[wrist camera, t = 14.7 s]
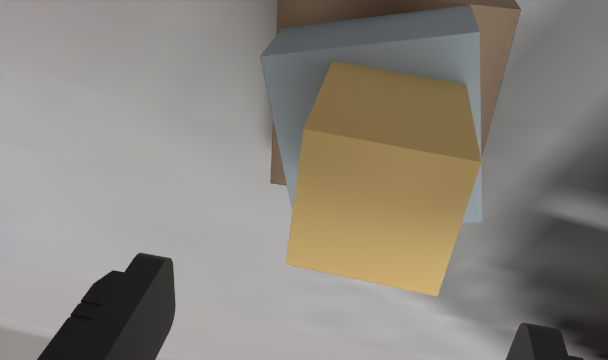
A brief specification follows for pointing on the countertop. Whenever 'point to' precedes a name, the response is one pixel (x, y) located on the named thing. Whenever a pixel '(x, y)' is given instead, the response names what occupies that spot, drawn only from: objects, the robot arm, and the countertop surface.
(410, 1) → the walnut block
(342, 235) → the ochre block
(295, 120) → the grey block
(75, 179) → the countertop surface
